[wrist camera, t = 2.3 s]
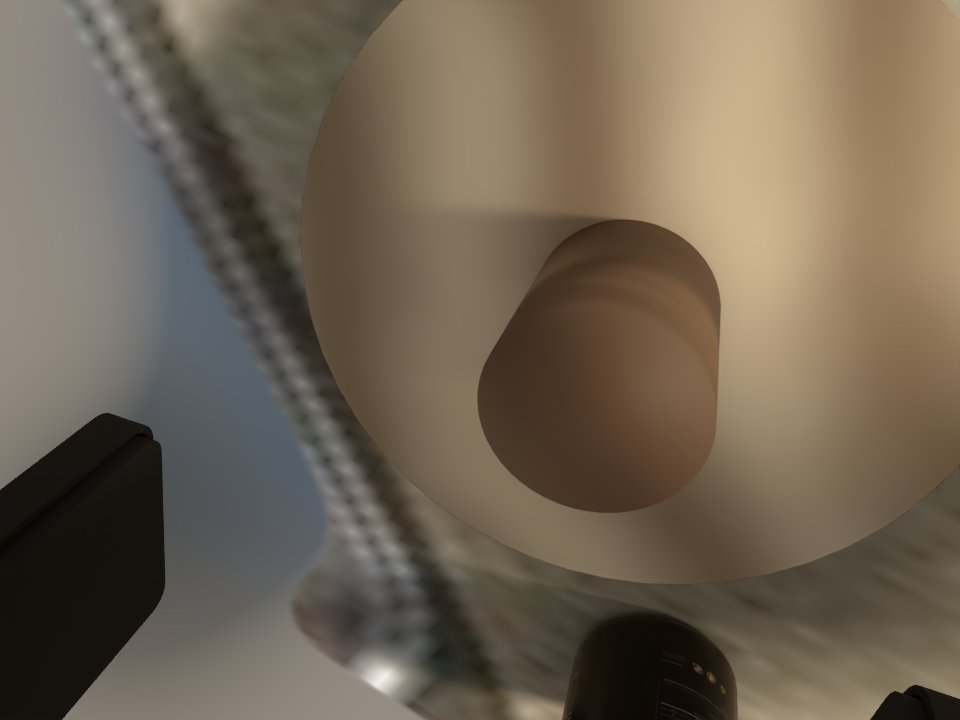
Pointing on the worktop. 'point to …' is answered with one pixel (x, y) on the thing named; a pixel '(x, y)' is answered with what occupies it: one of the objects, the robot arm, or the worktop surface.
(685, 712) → the supplement bottle
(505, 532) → the lid
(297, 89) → the worktop surface
